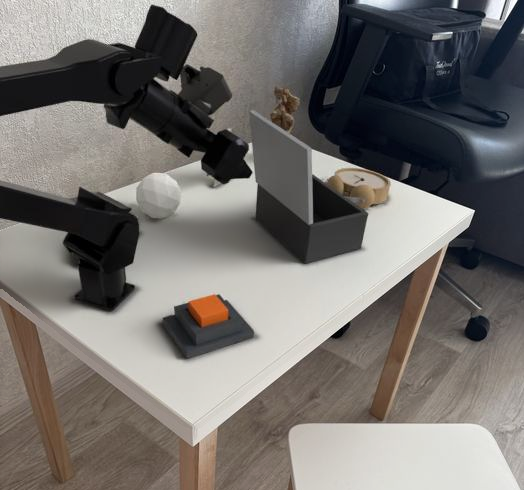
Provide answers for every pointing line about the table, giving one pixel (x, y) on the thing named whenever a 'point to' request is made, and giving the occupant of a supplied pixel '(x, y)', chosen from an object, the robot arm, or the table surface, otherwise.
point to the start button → (208, 310)
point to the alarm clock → (360, 186)
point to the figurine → (284, 109)
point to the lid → (282, 166)
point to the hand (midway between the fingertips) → (232, 162)
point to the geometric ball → (158, 195)
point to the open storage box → (314, 223)
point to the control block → (206, 331)
